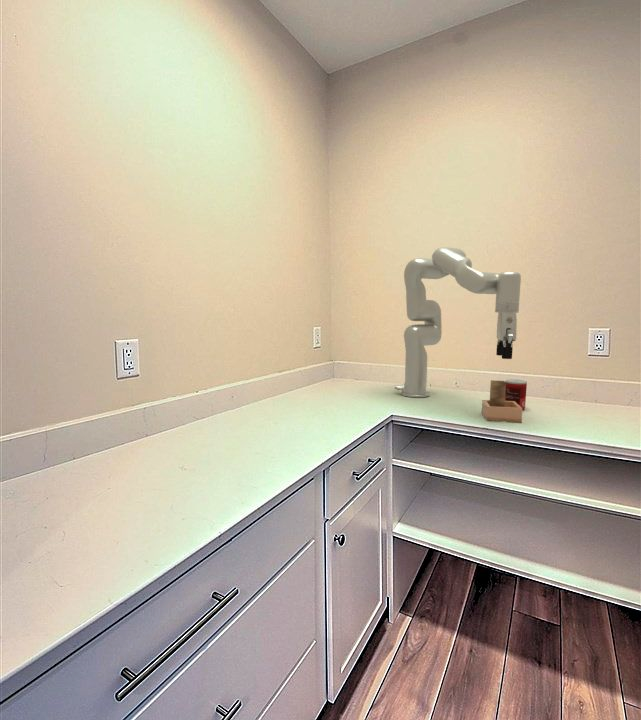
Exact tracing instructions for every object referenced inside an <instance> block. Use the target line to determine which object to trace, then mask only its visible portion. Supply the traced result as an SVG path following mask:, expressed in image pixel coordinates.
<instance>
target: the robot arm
mask: <svg viewBox="0 0 641 720" xmlns="http://www.w3.org/2000/svg"><path fill="white" fill-rule="evenodd" d="M449 275H450V276H452V277H453V278H455V281H456V283H457V284H458V285H459V286H460V287H462V288H463V289H465V290H467V291H469V292H470V293H473V294H478V295H495V308H494V313H498V314H497V323H496V339H497V341H496V342H497V343H496V354H495V355H496V356H499V357H500V356H501V359H503V360H512V359H513V347H514V346H513V345H514V344H513V342H515V341H517V330H518V329H517V327H518V325H517V322H518V321H517V313H519V310H520V296H521V283H522V282H521V281H522V279H521V278H522V276H521V273H519V272H516V271H504V272H500V273H497V272H496V273H495V272H483V271H482V272H480V271H478V270H476V269H474V268H473V262H472V261H471V259H470V258H468V257H467V254H466V252H465V251H464V250H462V249H461V248H457V247H439V248H437V249H435V250H434V251H433V253H432V255H431V258H428V257H427V258H423V257H416V258H413V259H411V260H410V261H409V262H407V264H406V265H405V268H404V271H403V279H404V286H405V293H406V294H405V300H406V301H405V302H406V303H405V304H406V316H407V318H408V320H410V321H412V322H424V324H423V323H422V324H421V323H420V324H418V323H417V324H412V325H409V326H406V328H405V330H404V333H403V340H404V348H405V364H404V371H405V372H404V383H403V384H400V385H398V384H394V390H397V391H401V392H400V394H401V396H403V397H409V398H427V397H429V396H430V395H431V393H430V391H427V382H428V380H427V379H428V378H427V377H428V353H427V351H426V348H425V346H426V347H427V346H434V345H437V344H439V342H440V341H441V339H442V334H443V333H442V332H443V331H442V328H443V327H442V309H441V306H440V304H439V303H438V302H437V301H436V300H432V299H427V289H426V286H425V284H424V282H423V281H422V279H424V280H425V279H428V280H440V279H443V278H445V277H447V276H449Z"/></svg>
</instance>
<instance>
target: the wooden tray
mask: <svg viewBox="0 0 641 720" xmlns="http://www.w3.org/2000/svg"><path fill="white" fill-rule="evenodd" d="M481 414H482V416H483V417H485V418H484V419H485V421H486V420H491V421H490V422H501V421H507V422H506V423H518V422H520V423H522V422H523V410H522V408H521V407H520V406H519V405H518V404H517V403H516V402H515V401H505V406H504V407H498V406H490V399H482V400H481ZM520 423H519V424H520Z"/></svg>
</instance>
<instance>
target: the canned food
mask: <svg viewBox="0 0 641 720" xmlns="http://www.w3.org/2000/svg"><path fill="white" fill-rule="evenodd" d="M504 381H505V382H506V389H505V401H515V402H516V403H517V404H518V405H519V406H520V407H521V408H522V411H524V410H525V408H526V404H527V403H526V400H527V385H528V384H527V383H528V382H527V381H526V380H523V379H518V378H517V379H516V378H513V379H512V378H510V379H508V378H507V379H506V380H504Z"/></svg>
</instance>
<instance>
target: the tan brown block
mask: <svg viewBox="0 0 641 720" xmlns="http://www.w3.org/2000/svg"><path fill="white" fill-rule="evenodd" d="M505 381H506V380H490V388H489V389H490V390H489V400H490V406H498V407H504V406H505V389H506V382H505Z"/></svg>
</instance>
